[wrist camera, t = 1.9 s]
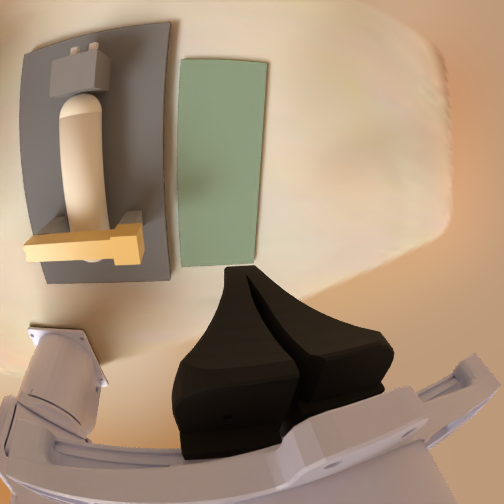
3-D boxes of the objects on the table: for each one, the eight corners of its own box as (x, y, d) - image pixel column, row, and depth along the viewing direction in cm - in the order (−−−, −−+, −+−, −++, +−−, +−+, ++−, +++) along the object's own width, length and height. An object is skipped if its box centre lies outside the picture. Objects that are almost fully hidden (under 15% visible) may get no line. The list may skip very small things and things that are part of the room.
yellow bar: (144, 249, 16) (140, 264, 15) (38, 254, 15) (27, 268, 13) (141, 222, 16) (136, 235, 14) (32, 231, 14) (19, 243, 12)
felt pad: (252, 261, 23) (253, 263, 23) (181, 264, 22) (181, 266, 22) (265, 64, 16) (267, 63, 16) (181, 60, 15) (180, 59, 15)
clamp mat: (170, 275, 22) (168, 304, 19) (50, 279, 20) (33, 305, 16) (170, 25, 13) (166, 5, 10) (29, 56, 11) (2, 49, 7)
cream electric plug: (119, 249, 20) (109, 271, 17) (84, 251, 19) (70, 272, 16) (113, 46, 13) (99, 34, 10) (72, 55, 12) (54, 46, 9)
